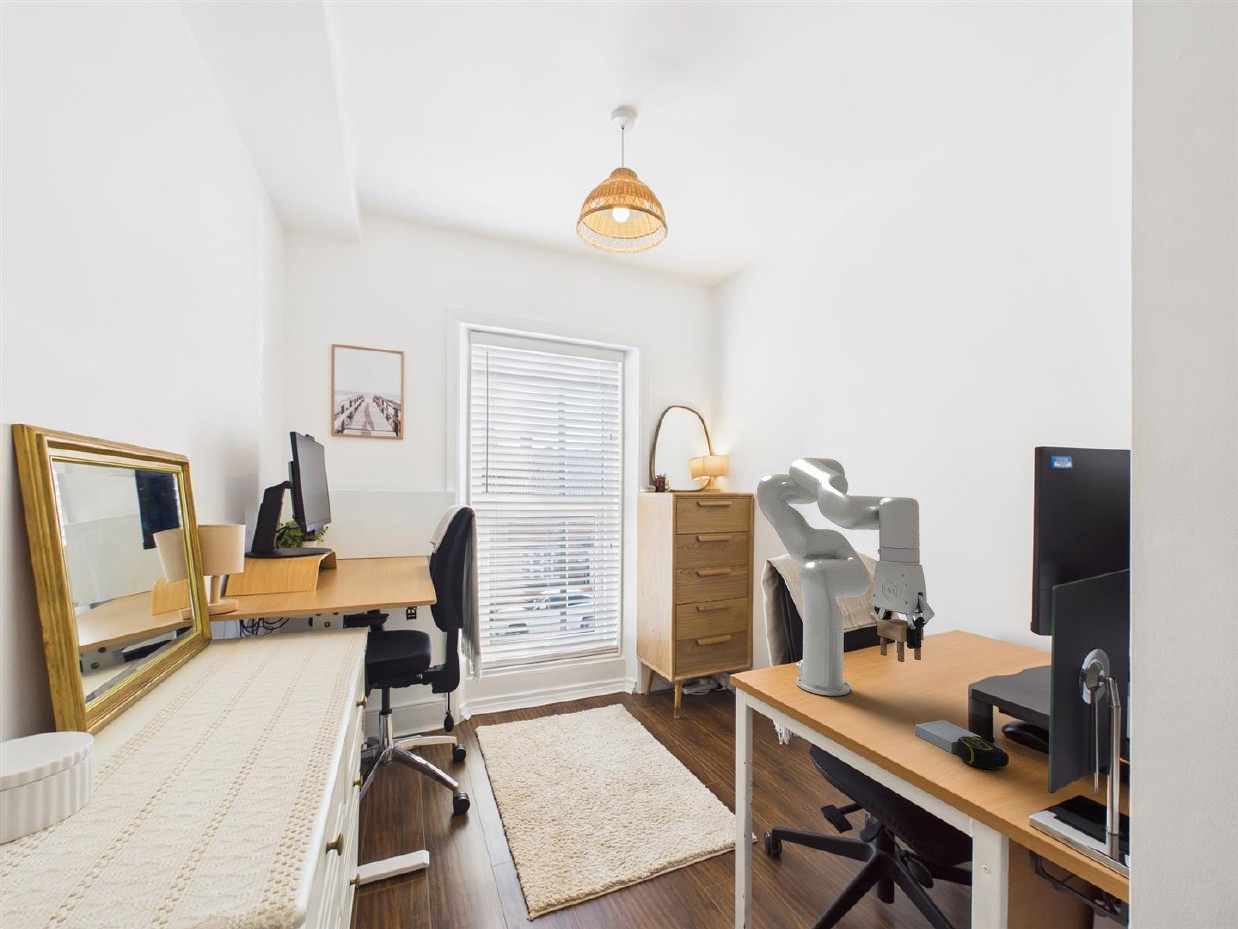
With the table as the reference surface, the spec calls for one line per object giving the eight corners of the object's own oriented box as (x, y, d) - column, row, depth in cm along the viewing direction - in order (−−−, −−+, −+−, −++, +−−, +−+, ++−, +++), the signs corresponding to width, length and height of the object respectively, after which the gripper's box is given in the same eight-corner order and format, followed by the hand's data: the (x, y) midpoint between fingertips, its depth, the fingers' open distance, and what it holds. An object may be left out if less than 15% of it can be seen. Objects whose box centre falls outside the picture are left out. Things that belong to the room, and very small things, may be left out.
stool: (877, 654, 113) (877, 620, 113) (899, 652, 115) (899, 618, 115) (901, 662, 107) (900, 627, 108) (923, 660, 109) (923, 625, 109)
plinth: (914, 734, 109) (914, 724, 109) (943, 729, 111) (943, 719, 111) (951, 753, 101) (951, 742, 101) (981, 747, 104) (981, 736, 104)
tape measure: (1011, 772, 95) (1011, 751, 95) (976, 774, 94) (976, 752, 94) (980, 753, 102) (980, 733, 102) (947, 755, 101) (947, 734, 101)
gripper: (854, 552, 119) (855, 634, 118) (920, 561, 103) (922, 657, 102) (880, 551, 122) (881, 632, 120) (950, 560, 105) (951, 654, 104)
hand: (900, 643), depth 111 cm, fingers closed on stool, 6 cm apart
